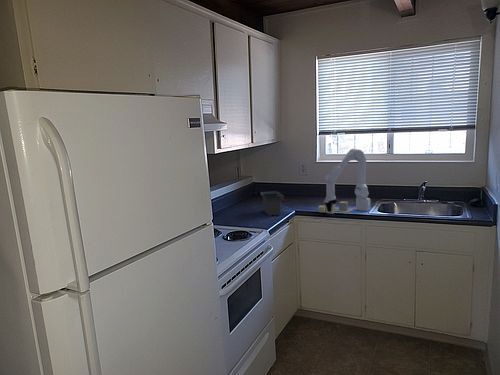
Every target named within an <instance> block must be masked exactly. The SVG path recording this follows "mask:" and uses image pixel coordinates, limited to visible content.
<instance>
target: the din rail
mask: <svg viewBox="0 0 500 375" xmlns="http://www.w3.org/2000/svg"><path fill="white" fill-rule="evenodd" d="M322 206H325V211H326V204H325V200H323V205H322ZM353 210H354V209H352V208H349V201H339V202H338V207H335V212H337V211H339V212H338V213H347V212H349V213H351V212H352V211H353Z"/></svg>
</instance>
